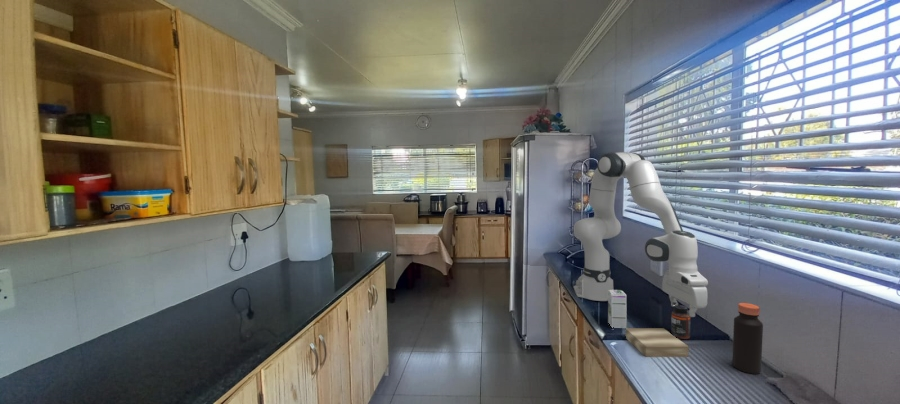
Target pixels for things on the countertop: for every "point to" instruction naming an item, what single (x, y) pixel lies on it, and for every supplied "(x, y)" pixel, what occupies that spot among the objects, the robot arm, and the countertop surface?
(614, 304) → the syrup box
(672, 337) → the beech block
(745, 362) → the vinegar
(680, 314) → the supplement bottle
